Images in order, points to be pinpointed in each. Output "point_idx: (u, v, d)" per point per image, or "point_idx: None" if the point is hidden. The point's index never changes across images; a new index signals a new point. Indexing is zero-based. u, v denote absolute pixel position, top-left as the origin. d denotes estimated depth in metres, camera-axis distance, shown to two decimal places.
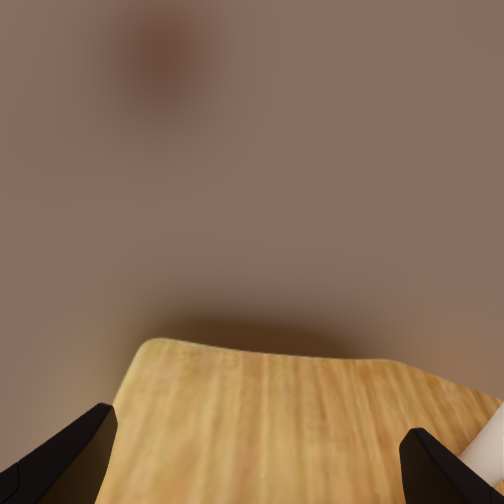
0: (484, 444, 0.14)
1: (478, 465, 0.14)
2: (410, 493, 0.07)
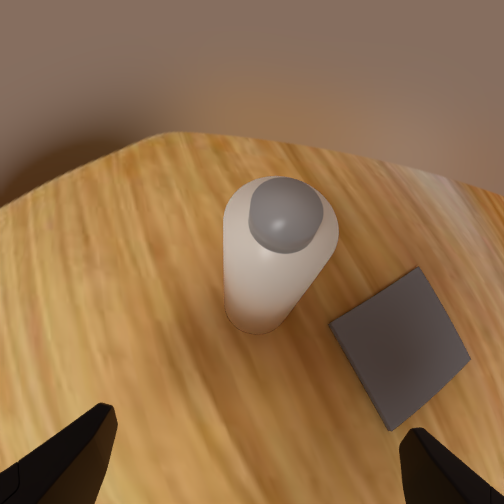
0: (225, 272, 0.16)
1: (234, 297, 0.17)
2: (410, 493, 0.07)
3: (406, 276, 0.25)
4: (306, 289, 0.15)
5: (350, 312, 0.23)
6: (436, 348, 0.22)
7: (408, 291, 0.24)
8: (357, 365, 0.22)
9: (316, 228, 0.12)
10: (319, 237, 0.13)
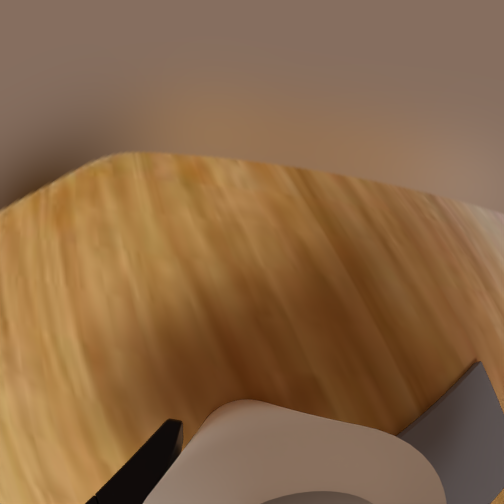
0: None
1: None
2: None
3: (465, 380, 0.14)
4: None
5: None
6: (487, 467, 0.12)
7: (466, 402, 0.14)
8: None
9: None
10: None
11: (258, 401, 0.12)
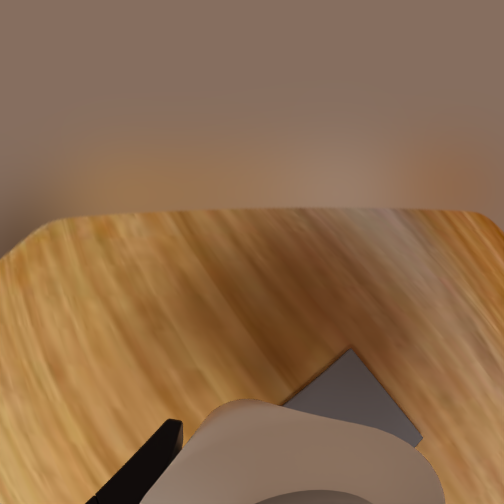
0: None
1: None
2: None
3: (334, 365, 0.21)
4: None
5: None
6: None
7: (337, 383, 0.21)
8: None
9: None
10: None
11: None
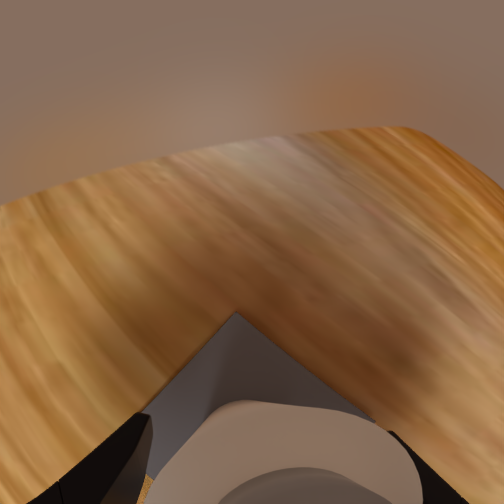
0: None
1: None
2: None
3: (215, 337, 0.16)
4: None
5: None
6: None
7: (224, 361, 0.16)
8: None
9: None
10: None
11: None
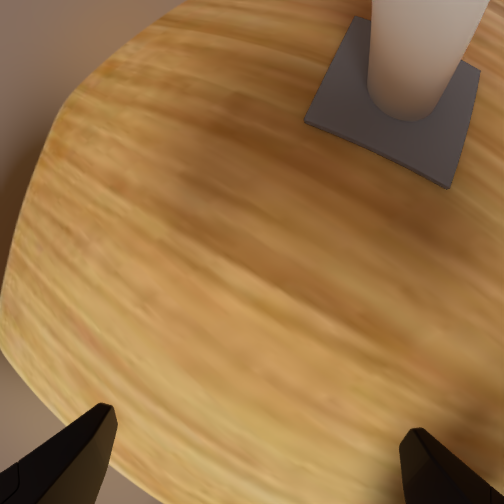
0: (387, 26, 0.10)
1: (401, 57, 0.11)
2: (410, 493, 0.07)
3: (349, 31, 0.18)
4: (474, 31, 0.08)
5: (316, 97, 0.18)
6: None
7: (362, 42, 0.18)
8: (362, 140, 0.18)
9: None
10: None
11: None
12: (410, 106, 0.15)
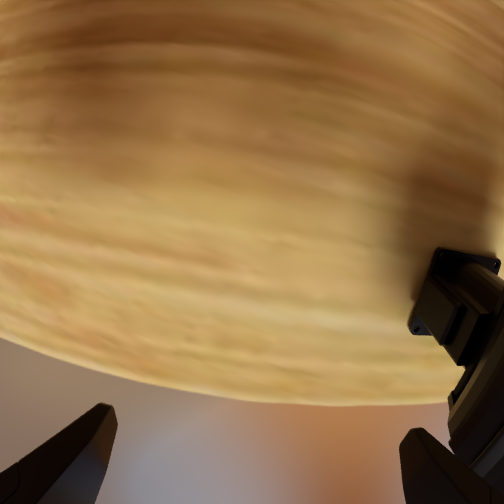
0: None
1: None
2: (410, 493, 0.07)
3: None
4: None
5: None
6: None
7: None
8: None
9: None
10: None
11: None
12: None
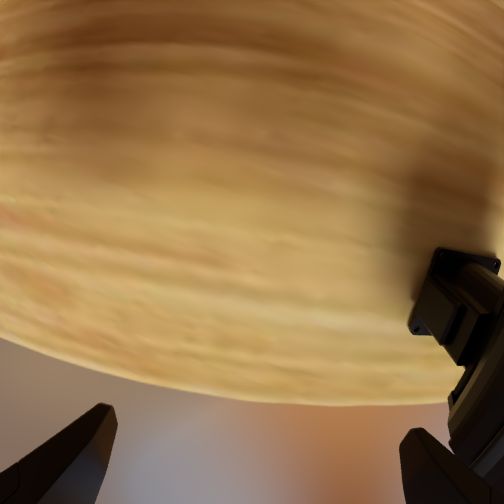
0: None
1: None
2: (410, 493, 0.07)
3: None
4: None
5: None
6: None
7: None
8: None
9: None
10: None
11: None
12: None
